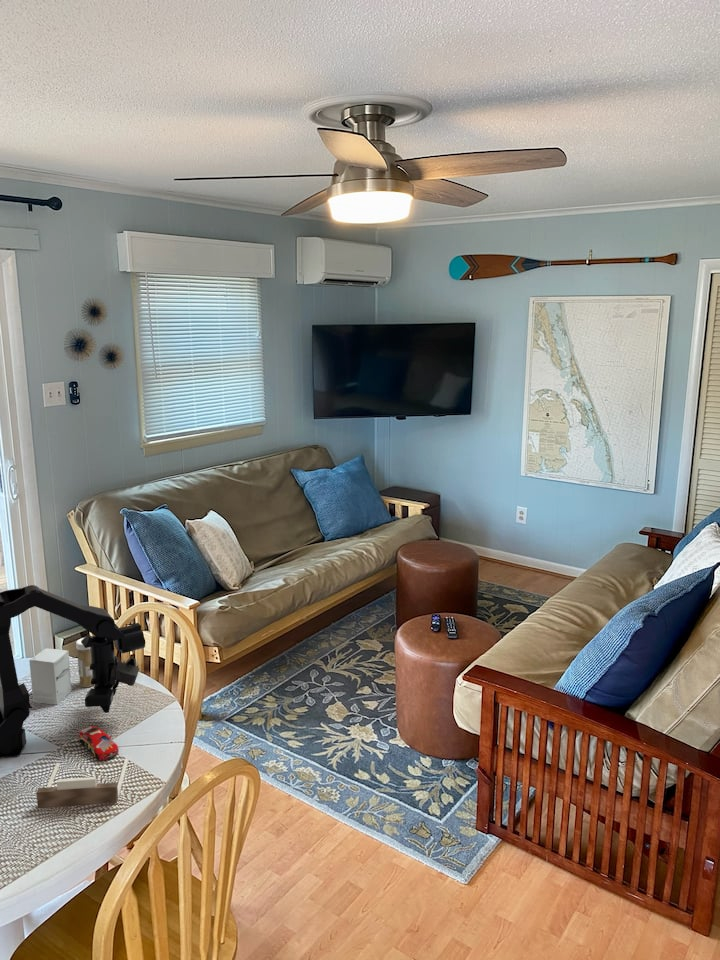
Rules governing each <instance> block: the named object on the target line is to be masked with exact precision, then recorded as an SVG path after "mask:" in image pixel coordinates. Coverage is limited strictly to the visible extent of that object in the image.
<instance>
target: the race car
mask: <svg viewBox="0 0 720 960" xmlns="http://www.w3.org/2000/svg"><path fill="white" fill-rule="evenodd" d="M112 737H113V736H112V735H110V736H109V735H108V734H107V733H106V732H104V731H103V730H102V729H101V728H100V727H97V725H96V726H95V725H91V726H90V725H89V726H87V727H85V728H83V729H81V730H80V731H79V733H78V742H79V743H80V746H82V747H83V748H85V749H86V750H87V751H88V752H89V753H90V754H91V755H92V756H93V757H94V758H95V759H96V760H97V761H98V762H100V761H107V760H111V759H112V758H114V757H116V756H117V755H118V754H119V746H118V744H117V743H116V742H114V740H113V739H112Z"/></svg>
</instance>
